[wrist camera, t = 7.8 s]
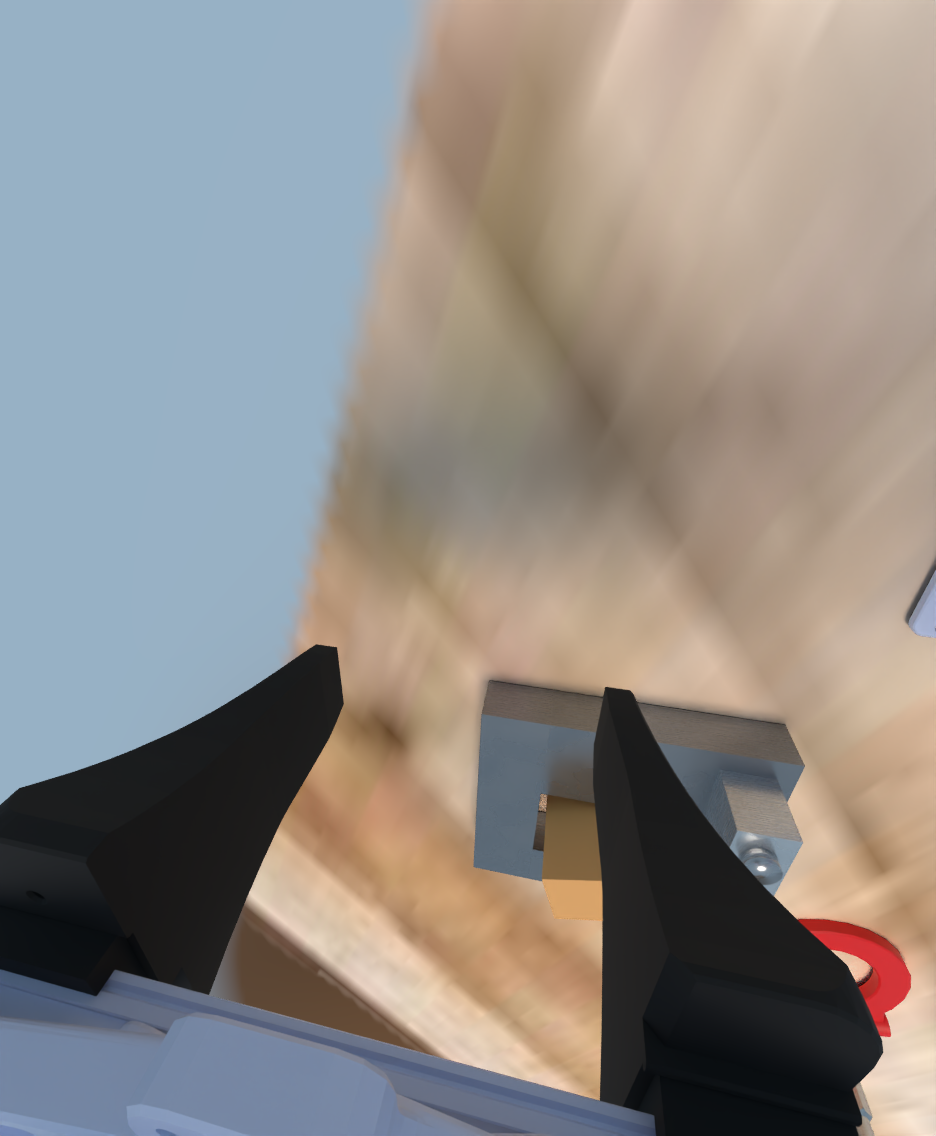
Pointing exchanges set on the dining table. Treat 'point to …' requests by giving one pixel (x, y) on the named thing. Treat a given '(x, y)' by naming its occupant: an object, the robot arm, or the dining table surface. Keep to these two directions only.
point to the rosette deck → (565, 769)
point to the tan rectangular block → (572, 860)
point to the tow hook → (878, 991)
